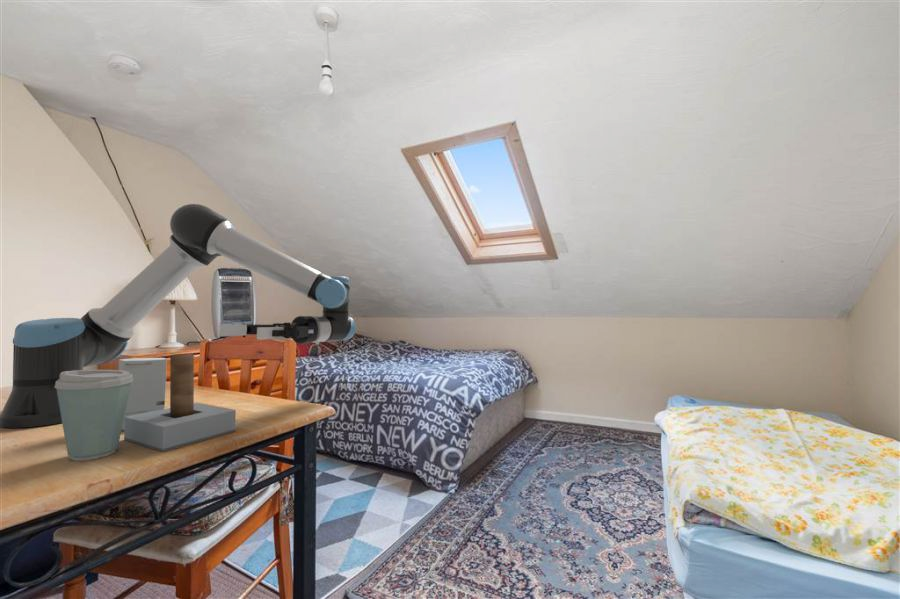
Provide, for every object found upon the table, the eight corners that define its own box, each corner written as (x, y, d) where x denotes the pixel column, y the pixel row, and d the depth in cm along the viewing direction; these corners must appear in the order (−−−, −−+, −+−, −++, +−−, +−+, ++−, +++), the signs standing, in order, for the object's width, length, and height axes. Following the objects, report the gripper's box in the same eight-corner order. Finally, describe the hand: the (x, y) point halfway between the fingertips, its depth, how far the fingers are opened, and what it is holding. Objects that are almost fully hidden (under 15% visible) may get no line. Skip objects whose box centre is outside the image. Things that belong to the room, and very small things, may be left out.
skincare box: (118, 431, 85) (120, 361, 85) (114, 425, 89) (116, 358, 89) (166, 423, 91) (167, 357, 91) (160, 418, 95) (162, 355, 95)
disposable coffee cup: (124, 441, 79) (126, 364, 79) (139, 453, 72) (141, 369, 72) (48, 456, 71) (50, 370, 71) (57, 472, 64) (60, 377, 64)
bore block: (124, 439, 79) (124, 417, 80) (196, 422, 92) (196, 402, 92) (162, 451, 73) (163, 427, 73) (235, 431, 85) (235, 410, 85)
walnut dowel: (166, 433, 82) (166, 355, 81) (186, 428, 85) (186, 352, 85) (177, 437, 80) (177, 357, 80) (197, 431, 83) (197, 354, 83)
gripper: (343, 346, 106) (274, 352, 87) (278, 340, 117) (205, 344, 99) (344, 317, 106) (275, 317, 87) (279, 314, 118) (207, 314, 99)
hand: (238, 332), depth 93 cm, fingers open, 13 cm apart
